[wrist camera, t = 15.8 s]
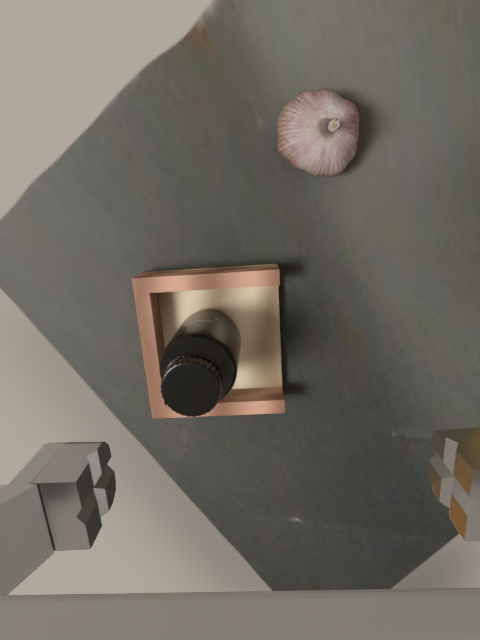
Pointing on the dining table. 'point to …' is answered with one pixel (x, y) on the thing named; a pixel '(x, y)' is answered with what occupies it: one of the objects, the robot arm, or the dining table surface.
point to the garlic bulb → (319, 132)
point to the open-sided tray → (232, 300)
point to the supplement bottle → (200, 363)
